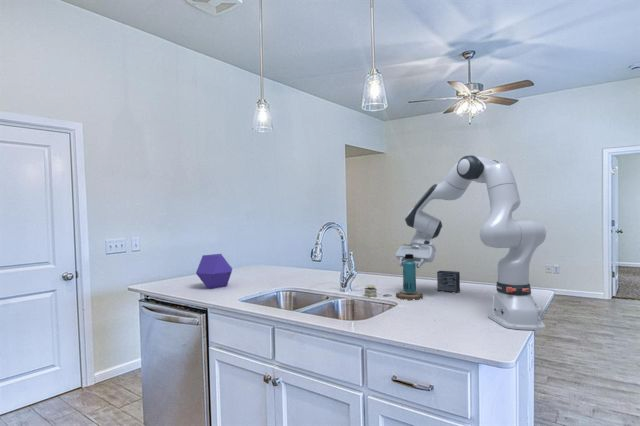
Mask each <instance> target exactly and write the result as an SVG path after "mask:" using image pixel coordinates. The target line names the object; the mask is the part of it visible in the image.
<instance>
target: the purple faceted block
mask: <svg viewBox="0 0 640 426" xmlns="http://www.w3.org/2000/svg"><path fill="white" fill-rule="evenodd" d="M196 269H197V270H196V275H197V277H198V278H199V279H200V281H201V282H202V283H203V285H205V287H206V289H208V290H211V289H212V290H213V289H219V288H224V287H228V283H229V281H230V279H231V275H232V271H233V268H232V266H231V265H230V264H229V262H228V261H227V259H226V258H225V257H224V256H223V254H222V253H215V254H204V255H203V254H202V256H201V260H200V262H199V264H198V267H197V268H196Z"/></svg>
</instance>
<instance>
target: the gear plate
mask: <svg viewBox="0 0 640 426" xmlns="http://www.w3.org/2000/svg"><path fill="white" fill-rule="evenodd" d="M396 297H397V299H400V300H401V299H403V300H402V301H404V299H408V300H407V301H419V300H423V298H424V295H423V293H419V292H418V291H417V292H404V291H399V292H396V293H395V298H396ZM419 298H421V299H419ZM413 299H415V300H413Z"/></svg>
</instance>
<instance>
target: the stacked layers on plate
mask: <svg viewBox="0 0 640 426" xmlns="http://www.w3.org/2000/svg"><path fill="white" fill-rule="evenodd" d="M377 287H378V286H377V285H376V284H366V285H364V296H365V297H366V296H368V298H370V297H374V298H377V295H378V293H377V291H378V288H377Z"/></svg>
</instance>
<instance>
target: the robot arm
mask: <svg viewBox="0 0 640 426" xmlns="http://www.w3.org/2000/svg"><path fill="white" fill-rule="evenodd" d="M472 182H475V183H480V184H485V185H486V189H487V194H488V198H489V199H488V200H489V206H490V212H489V216H488V218H487V220H486V221H485V222H484V223H483V224H482V225H481V227H480V230H479V238H480V241H481V243H483V245H484V246H485V247H489V248H495V249H508V252H507V253H506V255H505V256H503V257H502V258H501V259H500V260H498V263H497V281H496V291H497V292H496V293H495V294H494V295H493V296H492V308H491V309H492V313H488V315H487V317H488V318H489V319H491V320H492V321H494V322H495V323H498V324H499V325H500V326H502V327H504V328H507V329H513V330H522V331H541V330H546V325H545V323H544V322H543V320H542V319H541V317H540V316H539V315H541V314H542V308H541V307H538V306H537V302H536V301H535V300H534V298H533V296H532V288H531V287H532V286H531V284H530V280H529V279H530V264H531V260H532V257H533V254H534V253H535V251H536V250H537V249H538V247H540V246H541V245H542V244H543V243H544V242H545V240H546V236H547V231H546V229H545V227H544V225H543V224H542V223H541V222H540V221H535V220H531V219H513V216H512V215H513V212H515V211H516V210H517V209H518V208H519V207H520V205H521V197H520V194H519V190H518V186H517V181H516V179H515V175H514V174H513V171H512V170H511V167H510V165H508V164H506V163H504V162H499V161H498V160H495V159H490V158H487V157H484V156H475V155H471V154H470V155H465V156H462V157H461V158H460V159H459V161H457V162H455V164H454V165H453V166H452V168H450V170H449V172H448V173H447V174H446V176H445V177H444V179H443V180H442V181H441V182H440V183H437V184H433V185H431V186H430V188H428V190H427V191H426V192H425V193H424V194H423V195H422V196H421V198H419V200H418V201H417V203H416V204H415V205H414V206H413V207H412V208H411V209H410V210H408V211H407V213H406V215H405V217H404V221H405V223H406V226H408V227H410V228H412V229H415V233H414V235H413V237H412V239H411V240H410V243H409V244H402V245H400V246H399V248H398V249H397V250H396V252H395V254H394V255H395V258H396V260H398V261H399V266H400V267H403V262H404V261H414V262H418V263H416V269H421V268H422V266H423V265H424V264H426V263H432V262H434V259H435V256H436V252H437V249H436V246H435V245H434V243H433V242H432V241H431V240H433V239H436V238H438V237H439V235H440V232H441V230H442V228H443V223H442V221H441V219H439V218H437V217H436V216H433V215H431V214H429V213H427V212H426V211H425V212H424V211H423V209H425V207H426V206H427V205H428V204H429V203H430V201H433V200H443V201H456V200H458V199H461V197H462V196H463V195H464V194H465V192H466V191H467V189H468V188H469V186H470V184H471V183H472ZM405 254H413V259H405Z"/></svg>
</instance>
